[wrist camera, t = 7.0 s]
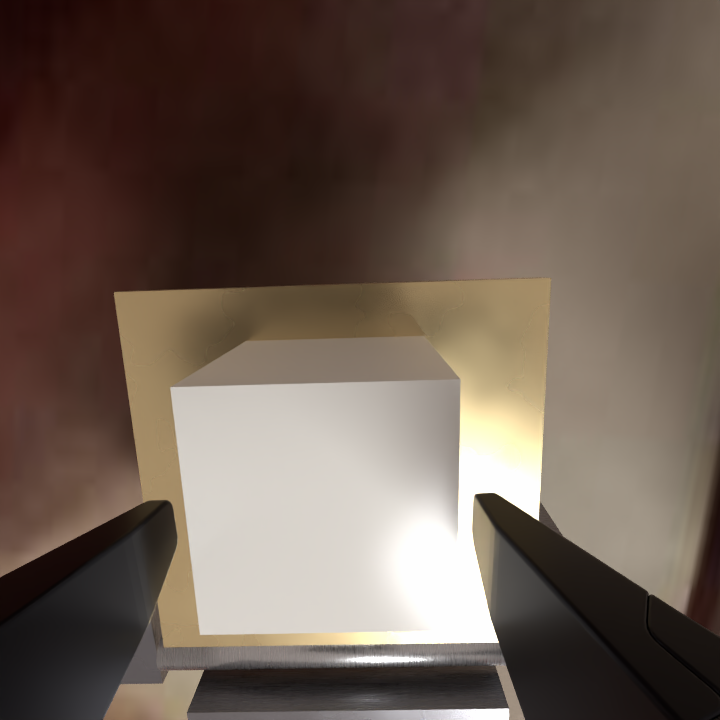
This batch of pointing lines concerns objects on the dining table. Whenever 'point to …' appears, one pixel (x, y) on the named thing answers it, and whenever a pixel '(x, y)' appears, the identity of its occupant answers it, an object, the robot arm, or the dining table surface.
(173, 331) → the trapdoor
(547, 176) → the dining table surface
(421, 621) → the cube
